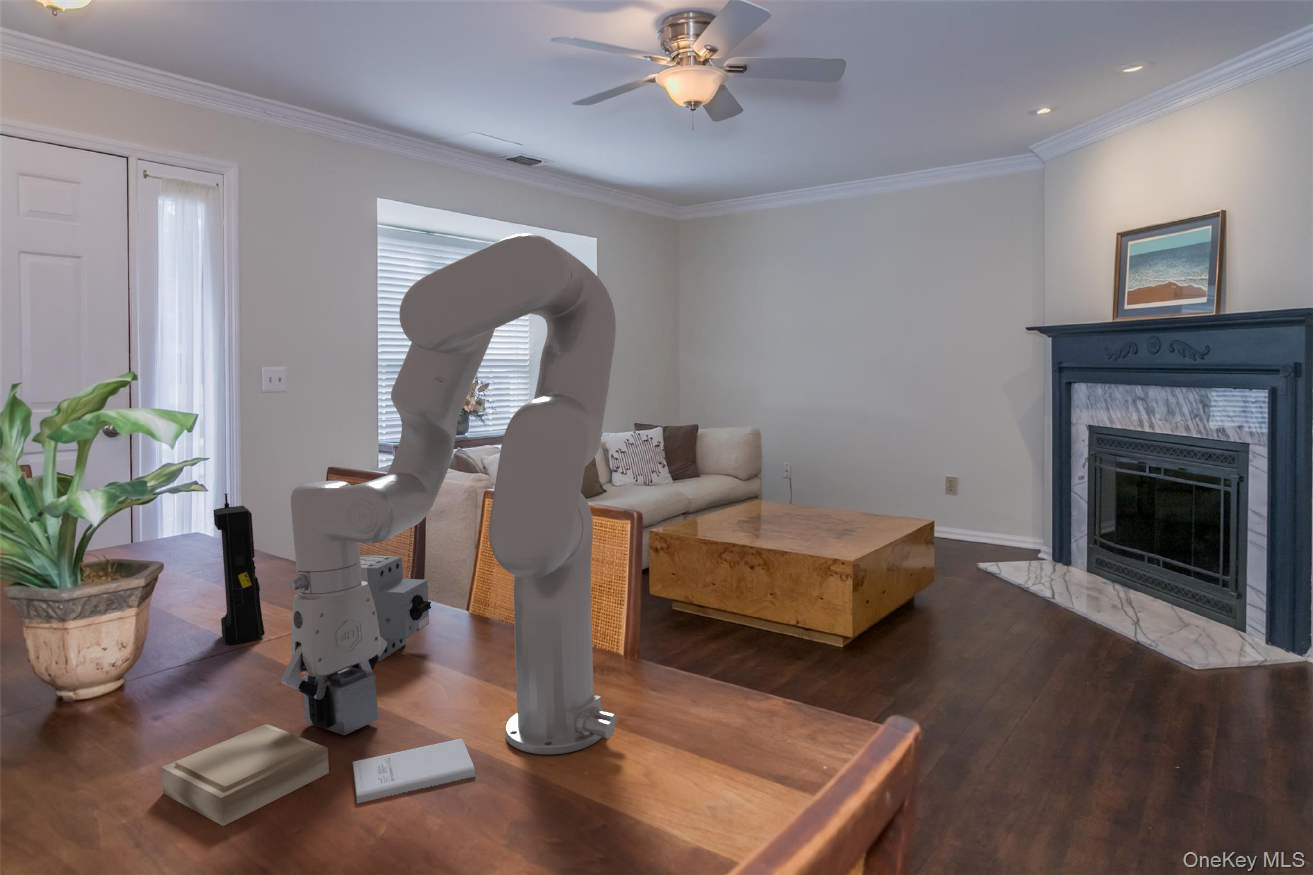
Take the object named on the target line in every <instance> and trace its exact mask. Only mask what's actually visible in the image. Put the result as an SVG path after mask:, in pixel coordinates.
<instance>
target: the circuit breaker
mask: <svg viewBox="0 0 1313 875" xmlns="http://www.w3.org/2000/svg"><path fill="white" fill-rule="evenodd" d="M360 562H361V574H362V581H365V582H367V583H368V585H369V588H370V591H371V594H372V597H373V601H374V604H375V609H376V614H377V620H378V626H379V634H380V636H381V637H382V638H383V639H384V640H385V641H386V642H387V646H386V648H385V649H384V651H383V652H382V654H381V655H380V656H379V658H378V661H377V662H382V661H383V660H385V659H386V658H387V657H390V656H391V655H393V654H394V653H395V652H396V651H398V650H400V649H402V647H404V646H405V645H407V639H408V638H410V637H411V636H413V635H414V634H415V633H417V632H418V631H420V630H422V629H423V628H424V627H426V626H428V625H429V624H430V612H429V610H431V609H432V606H431V604H432V601H429V590H428V589H429V587H428V585H429V584H428V579H419V578H418V579H417V578H404V576H403V557H402V556H394V555H389V556H388V555H360ZM390 654H391V655H390Z"/></svg>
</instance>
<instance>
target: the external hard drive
mask: <svg viewBox="0 0 1313 875" xmlns="http://www.w3.org/2000/svg"><path fill="white" fill-rule="evenodd" d="M352 767H353V768H352V770H353V777H354V778H353V779H354V787H355V794H356V795H355V796H356V797H355V798H356V804H361V803H365V802H368V801H369V802H370V801H373V800H377V799H383V798H387V797H386V796H388V795H392V796H395V795H394V794H396V795H399V794H398V793H401V794H403V793H402V792H405V793H409V792H408V791H410V790H414V791H418V790H417V789H419V790H421V789H420V788H423V789H426V787H427V788H430V786H432V787H436V786H439V784H441V785H444V783H445V784H449V783H453V782H452V781H454V782H458V781H462V780H461V779H463V780H466V778H467V779H470V778H475V777H476V768H475V766H474V763H473V761H472V758H471V756H470V754H469V751H468V748H467V746H466V743H465V741H464V740H463V738H458V739H454V740H453V739H452V740H449V741H448V740H447V741H444V742H438V743H434V744H429V745H425V746H420V747H416V748H411V749H410V748H409V749H406V750H402V751H397V752H392V753H388V754H384V755H378V756H374V757H369V758H364V759H360V760H356V761H352ZM435 785H436V786H435ZM410 792H411V791H410ZM382 797H383V798H382ZM388 797H389V796H388Z"/></svg>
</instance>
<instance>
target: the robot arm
mask: <svg viewBox="0 0 1313 875" xmlns="http://www.w3.org/2000/svg"><path fill="white" fill-rule="evenodd" d="M528 315H536V316H539V317H541V318H543V320H545V323H546V337H545V342H544V344H543V348H542V351H541V355H540V356H541V357H540V362H539V372H538V378H537V384H536V388H535V393H534V397H533V399H532V400H529V401H528V402H527V403H524V404H523V405H522V406H521V407H520V408H519V409H517V411H515V413H514V414H513V415H512V417H511V418H510V419H509V422H508V424H507V427H506V429H505V431H504V434H503V437H502V440H501V441H502V442H501V445H500V446H501V447H500V453H499V458H498V463H497V464H498V465H497V470H496V476H495V482H494V483H495V484H494V489H493V496H492V502H491V507H490V514H489V515H490V516H489V522H488V540H489V546H490V549H491V552H492V555H493V556H494V558H495V560H496V561H497V563H498V564H499V565H500V567H502V568H503V569H504V570H505V571H506V572H508V573H510V574H511V575H513V621H514V622H513V623H514V650H515V651H514V652H515V653H514V654H515V676H516V677H515V678H516V680H515V682H516V684H515V685H516V703H517V704H516V709H517V712H516V713H515V714H514V715H512V716H511V717H510V718H509V719H508V721H507V722H506V725H505V728H504V729H505V730H504V731H505V732H504V733H505V734H504V736H505V738H506V741H507V742H508V743H509V744H510V745H511V746H512V747H514V748H515V749H517V750H519V751H522V752H525V753H528V754H529V753H530V754H536V755H550V756H551V755H561V754H567V753H573V752H577V751H580V750H583V749H585V748H586V749H587V748H588V747H590V746H592V745H593V744H595V743H597V742H598V741H599V740H601V739H602V738H604V739H611V738H612V737H613V735H614V732H615V725H616V724H617V722H618V714H616V713H613V712H610V711H604V710H603V709H602V700H601V696H599V695H595V693H594V692H595V691H594V664H593V663H594V661H593V657H594V656H593V629H592V628H593V625H592V624H593V622H592V557H593V556H592V555H593V554H592V553H593V539H594V538H593V535H594V534H593V533H594V528H593V527H594V526H593V513H592V511H591V508H590V505H589V502H588V500H587V498H586V497H585V496H584V494H583V493H582V492H581V491H582V486H583V481H584V474H585V470H586V467H587V466H588V465H589V464H590V463H591V462H592V461H593V460H594V458H595V457H596V456H597V453H598V452H599V450H600V447H601V445H602V444H601V443H602V434H603V427H604V426H603V424H604V417H605V411H606V410H605V409H606V406H607V405H606V404H607V399H608V394H609V386H610V380H611V378H610V377H611V371H612V370H611V369H612V364H613V357H614V352H615V351H614V350H615V343H616V342H615V341H616V332H617V331H616V330H617V326H616V324H617V323H616V321H617V320H616V313H615V307H614V303H613V300H612V298H611V295H610V293H609V292H608V290H607V287H606V285H605V284H604V283H603V282H602V280H601V279H600V277H598V276H597V275H596V274H595V272H594V271H593V270H591V269H590V267H589V266H587V265H586V264H585V263H584V262H582V261H581V260H580V259H578V257H576V256H574V255H573V254H571V253H570V252H569V251H567V250H566V249H565V248H563V247H561V246H560V245H557V244H556V243H555V242H553V241H552V240H551V239H548V238H546V237H544V236H542V235H537V234H534V233H520V234H514V235H511V236H509V237H505V238H503V239H500V240H498V241H496V242H493V243H491V244H489V245H488V246H485V247H484V248H481V249H479V250H477V251H475V252H472V253H471V254H469V255H467V256H465V257H462V258H460V259H458V260H456V261H454V262H451V263H449V264H447V265H445V266H443V267H441V268H439V269H436V270H435V271H432V272H430V273H428V274H427V275H425V276H423V277H421V278H420V279H419V280H417V281H416V282H415V283H414V284H412V286H410V287H409V288H408V290H407V291H406V293H405V294H404V296H403V298H402V300H401V303H400V307H399V317H398V318H399V323H400V327H401V329H402V331H403V334H404V335H405V336H406V337H407V339H408V341H410V342H411V343H410V345H409V348H408V350H407V353H406V355H405V357H404V360H403V363H402V365H401V367H400V369H399V371H398V374H397V377H396V379H395V381H394V384H393V386H392V389H391V391H390V398H391V402H392V404H393V406H394V408H395V409H396V411H397V413H398V416H399V418H400V420H401V421H400V422H401V434H400V439H399V443H398V447H397V449H396V452H395V453H394V454H395V455H394V458H393V459H392V461H391V464H390V466H389V469H388V470H387V473H386V475H384V476H381V477H377V478H375V479H372V480H369V481H366V482H361V483H359V484H352V485H351V483H349V482H347V481H343V480H325V481H324V480H321V481H315V482H308V483H304V484H300V485H298V486H296V487H295V488H293V490H292V492H291V494H290V509H291V510H290V511H291V523H292V532H293V533H292V534H293V543H294V544H293V545H294V555H295V566H296V567H295V569H296V571H295V576H296V577H294V578H293V579H290V580H289V581H288V587H289V589H290V591H292V592H293V591H297V592H298V594H295V595H294V598H293V603H292V612H291V625H290V630H291V631H290V632H291V633H290V634H291V636H290V640H291V642H290V643H291V644H290V645H291V659H290V661H289V662H288V664H287V667H286V668H285V670H284V672H283V674H282V676H281V678H280V683H281V684H282V685H285V686H288V687H291V688H293V689H295V690H296V691H299V692H300V693H301V694H302V695H303V694H304V695H305V696H308V701H309V712H310V719H311V721H312V723H313V725H312V726H315V725H316V726H315V727H318V726H319V728H321V727H322V728H321V729H324V728H325V730H327V728H329V727H331V714H330V702H329V697H327V696H325V690H326V683H327V677H328V676H329V675H331V674H334V673H336V672H339V671H342V670H344V669H347V668H358V669H362V670H366V672H369V673H372V674H374V673H373V670H374V668H375V666H376V665H377V663H378V662H379V661H378V658H379V656H380V655H381V654H382V652H383V651H384V652H385V650H384V649H385V648H386V646H387V642H386V641H385V640H384V639H383V638H382V637H381V636H380V634H379V626H378V620H377V614H376V609H375V604H374V601H373V597H372V594H371V591H370V588H369V585H368V583H367V582H365V581H362V574H361V562H360V556H361V553H360V552H361V550H360V544H377V543H381V542H385V541H388V540H390V539H391V538H393V537H396V536H397V535H399V534H401V533H402V532H404V531H407V530H408V529H411V528H412V527H415V526H417V525H419V524H420V523H421V522H422V521H423V520H424V519H425V518H426V516H427V515H428V514H429V512H430V511H431V509H432V507H433V505H434V504H435V501H436V500H437V497H438V495H439V492H440V489H441V488H442V485H443V483H444V481H445V478H446V476H447V473H448V470H449V468H450V464H451V461H452V458H453V452H454V450H455V449H454V448H455V442H456V436H457V430H458V429H457V428H458V420H459V417H460V414H461V412H462V410H463V408H464V405H465V403H466V399H467V397H468V395H469V392H470V390H471V388H472V385H473V383H474V380H475V379H476V376H477V374H478V371H479V369H480V367H481V364H482V362H483V360H484V357H485V355H486V353H487V350H488V347H489V345H490V343H491V341H492V339H493V336H494V333H495V329H497V328H500V327H502V326H504V325H506V324H508V323H511V322H513V321H516V320H518V319H520V318H522V317H524V316H528ZM301 673H305V676H306V677H305V680H303V679H302V677H300V674H301ZM316 677H317V678H316ZM315 682H316V684H315Z"/></svg>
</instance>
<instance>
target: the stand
mask: <svg viewBox="0 0 1313 875" xmlns="http://www.w3.org/2000/svg"><path fill="white" fill-rule="evenodd" d="M328 751H329V749H328V747H327V746H325V745H321V744H319V743H316V742H314V741H311V740H309V739H306V738H304V737H301V736H299V735H296V734H294V733H291V732H288V731H286V730H284V729H280V727H276V726H274V725H271V724H268V723H264V724H263V725H259V726H258V727H255V728H253V729H249V730H247V731H245V732H243V733H240V734H238V735H235V736H234V737H231V738H227V739H226V740H224V741H222V742H219V743H216V744H214V745H212V746H208V747H206V748H204V749H202V750H199V751H197V752H193V753H192V754H190V755H187V756H185V757H182V758H180V759H178V760H175V761H173V762H170V763H167V764H165V765H163V766H160V772H161V784H162V794H163V795H165V796H167V797H168V798H170V799H172V800H173V801H176V802H178V803H180V804H182V805H184V806H185V807H187V808H189V809H190V810H193V811H195V812H196V813H198V814H200V815H201V816H204V817H205V818H207V819H209V820H211V821H212V822H214V823H216V824H219V826H221V827H225V826H226V825H229V824H230V823H232V822H234V821H237V820H238V819H241V818H242V817H244V816H246V815H249V814H250V813H253V812H255V811H256V810H258V809H260V808H263V807H264V806H266V805H268V804H270V803H272V802H274V801H276V800H278V799H280V798H282V797H285V796H286V795H288V794H291V793H292V792H294V791H296V790H298V789H300V788H302V787H304V786H306V785H308V784H311V783H312V782H314V781H316V780H318V779H320V778H322V777H324V776H326V775H328V774H330V770H329V769H330V766H329V752H328Z"/></svg>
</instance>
